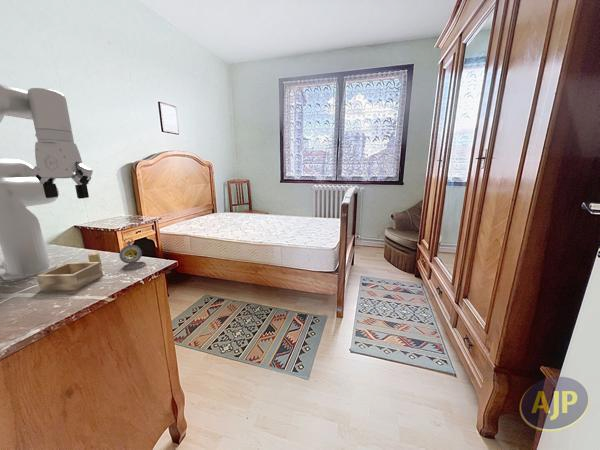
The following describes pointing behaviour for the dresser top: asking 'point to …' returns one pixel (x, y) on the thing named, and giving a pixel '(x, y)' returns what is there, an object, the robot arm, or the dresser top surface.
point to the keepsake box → (70, 276)
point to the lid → (94, 257)
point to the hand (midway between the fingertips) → (67, 197)
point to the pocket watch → (131, 255)
